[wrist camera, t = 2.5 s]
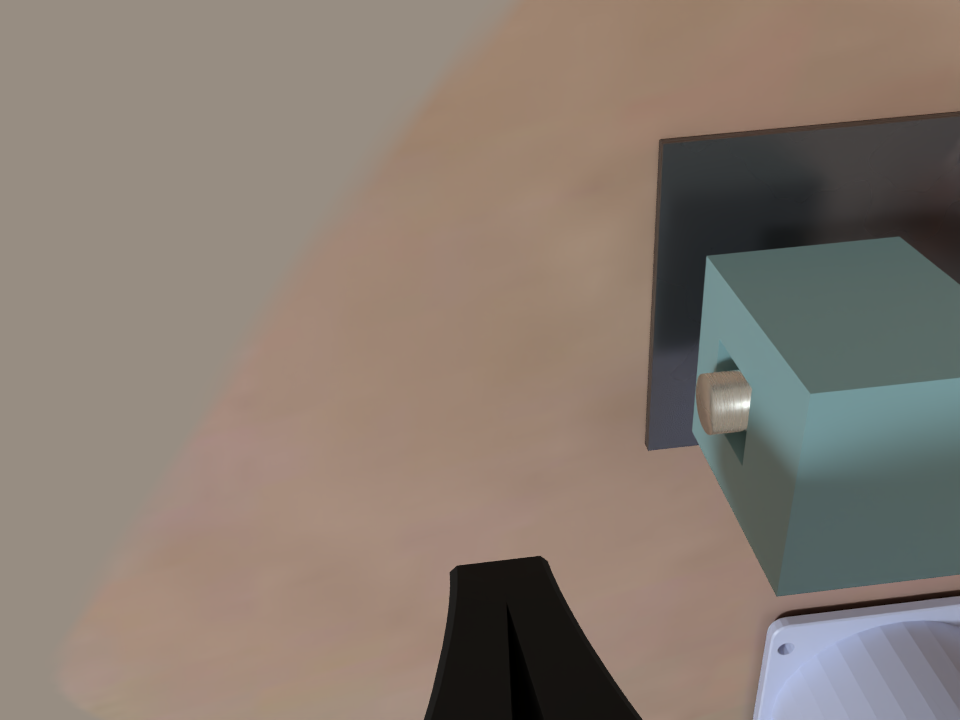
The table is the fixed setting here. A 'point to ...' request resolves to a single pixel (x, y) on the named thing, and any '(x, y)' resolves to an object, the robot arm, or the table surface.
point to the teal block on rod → (839, 411)
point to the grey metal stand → (782, 232)
